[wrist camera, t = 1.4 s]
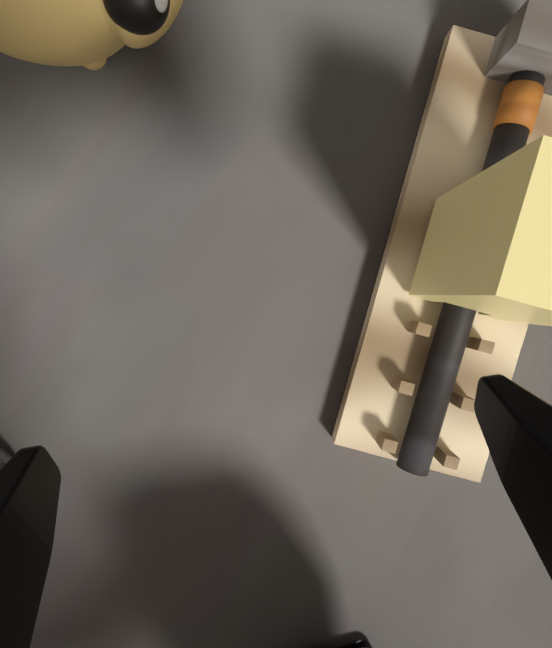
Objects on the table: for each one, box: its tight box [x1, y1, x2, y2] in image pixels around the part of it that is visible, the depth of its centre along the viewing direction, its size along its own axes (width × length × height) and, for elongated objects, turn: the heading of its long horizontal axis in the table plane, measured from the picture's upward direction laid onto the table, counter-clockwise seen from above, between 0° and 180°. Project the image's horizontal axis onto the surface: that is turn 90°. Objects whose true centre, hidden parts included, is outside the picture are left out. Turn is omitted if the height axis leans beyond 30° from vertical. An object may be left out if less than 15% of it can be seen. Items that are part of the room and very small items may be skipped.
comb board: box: [332, 0, 552, 483], centre depth 23 cm, size 22×8×4 cm, turn 165°
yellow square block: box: [409, 135, 552, 326], centre depth 19 cm, size 5×5×10 cm
